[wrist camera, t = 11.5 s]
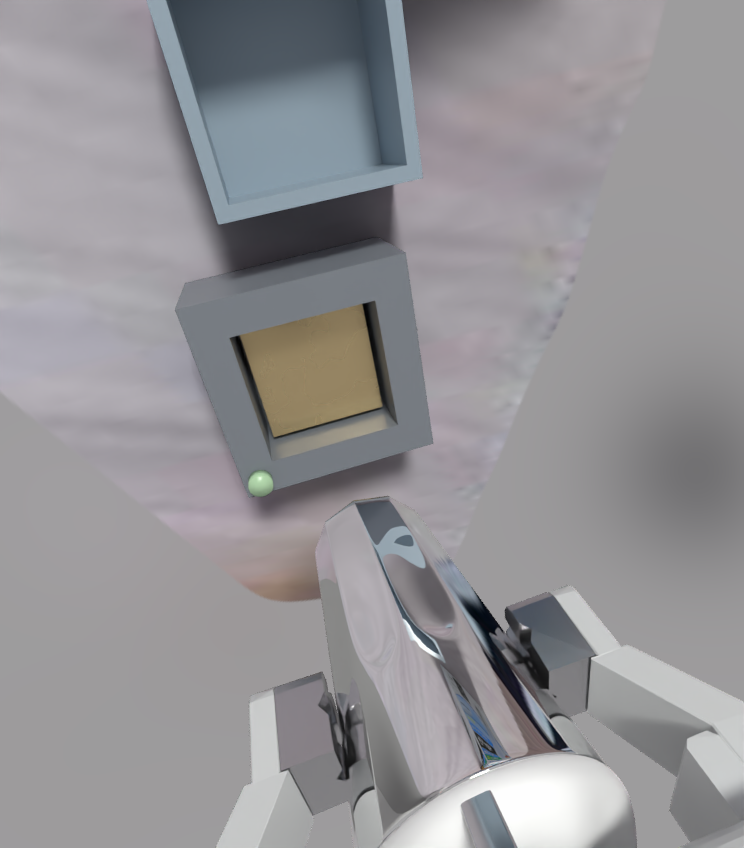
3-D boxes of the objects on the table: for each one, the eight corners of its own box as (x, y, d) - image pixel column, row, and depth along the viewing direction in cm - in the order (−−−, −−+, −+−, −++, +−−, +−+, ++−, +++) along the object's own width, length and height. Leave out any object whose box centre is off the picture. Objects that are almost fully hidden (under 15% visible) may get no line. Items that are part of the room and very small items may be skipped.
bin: (147, -20, 20) (125, -65, 16) (359, -56, 21) (388, -106, 17) (221, 213, 24) (218, 224, 20) (393, 174, 25) (422, 177, 21)
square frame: (185, 283, 25) (173, 313, 20) (377, 236, 26) (409, 255, 21) (246, 449, 30) (249, 504, 25) (405, 403, 31) (437, 449, 26)
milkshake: (415, 426, 14) (755, 867, 5) (453, 563, 16) (719, 1004, 8) (256, 490, 13) (327, 1096, 5) (322, 619, 16) (447, 1157, 7)
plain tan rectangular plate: (238, 325, 24) (237, 330, 23) (357, 294, 25) (361, 298, 24) (273, 430, 27) (274, 437, 26) (378, 400, 28) (382, 406, 27)
